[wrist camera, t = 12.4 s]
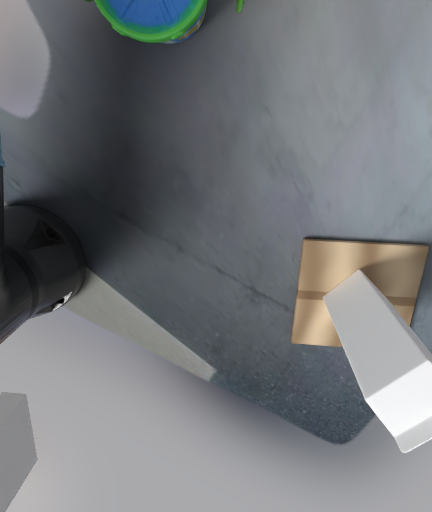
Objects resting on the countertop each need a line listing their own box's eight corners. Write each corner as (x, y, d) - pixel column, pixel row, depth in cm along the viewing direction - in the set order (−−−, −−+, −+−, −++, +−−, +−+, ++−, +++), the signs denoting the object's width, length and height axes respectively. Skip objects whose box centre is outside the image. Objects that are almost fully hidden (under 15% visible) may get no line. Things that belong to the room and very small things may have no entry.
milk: (321, 296, 47) (375, 430, 26) (359, 267, 45) (449, 386, 25) (351, 327, 48) (424, 477, 27) (389, 299, 46) (499, 439, 26)
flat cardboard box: (291, 339, 51) (291, 343, 50) (303, 238, 45) (304, 240, 45) (400, 348, 49) (403, 351, 49) (426, 245, 44) (429, 247, 43)
